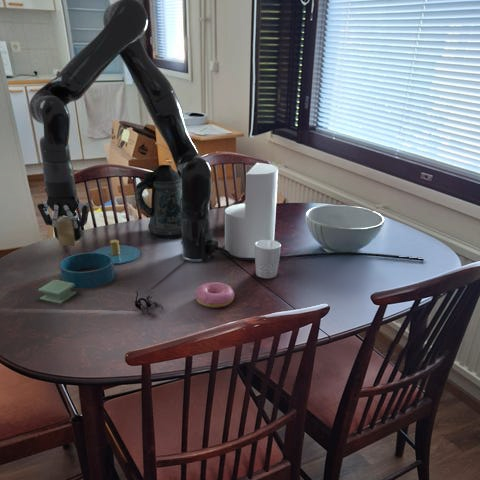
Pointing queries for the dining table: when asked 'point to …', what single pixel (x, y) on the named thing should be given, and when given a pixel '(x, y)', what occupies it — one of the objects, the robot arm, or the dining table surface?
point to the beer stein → (162, 202)
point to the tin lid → (119, 252)
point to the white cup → (267, 258)
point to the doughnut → (214, 295)
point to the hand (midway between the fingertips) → (68, 239)
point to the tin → (89, 277)
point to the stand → (57, 291)
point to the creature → (146, 304)
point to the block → (65, 231)
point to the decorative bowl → (343, 227)
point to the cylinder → (253, 212)
